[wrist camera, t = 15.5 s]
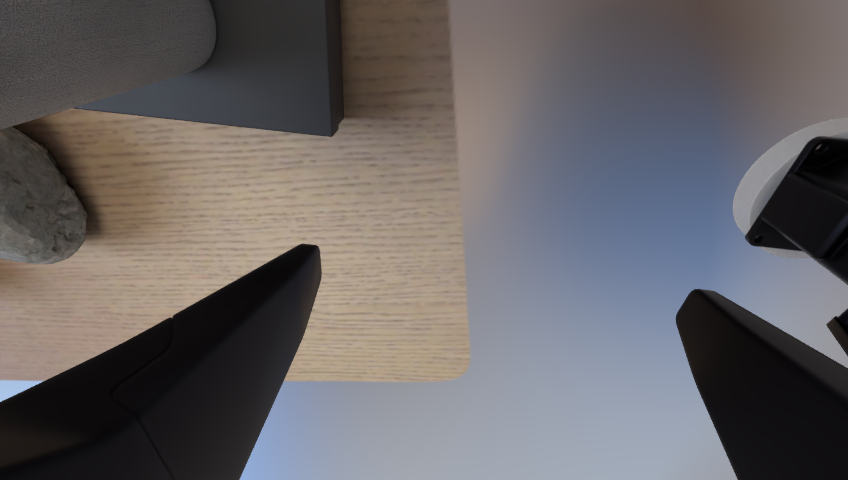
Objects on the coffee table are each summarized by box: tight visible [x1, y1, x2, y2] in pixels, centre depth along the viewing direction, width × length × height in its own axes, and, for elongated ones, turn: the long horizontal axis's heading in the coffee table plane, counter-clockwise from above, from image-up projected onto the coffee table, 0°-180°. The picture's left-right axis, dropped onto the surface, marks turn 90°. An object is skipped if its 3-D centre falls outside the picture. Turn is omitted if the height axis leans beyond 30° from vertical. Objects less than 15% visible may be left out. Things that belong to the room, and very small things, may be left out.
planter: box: [0, 0, 216, 130], centre depth 11 cm, size 4×4×10 cm
